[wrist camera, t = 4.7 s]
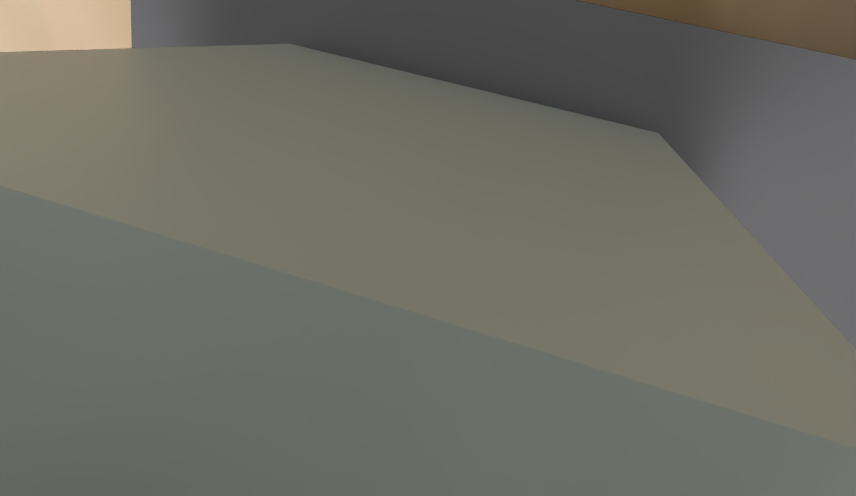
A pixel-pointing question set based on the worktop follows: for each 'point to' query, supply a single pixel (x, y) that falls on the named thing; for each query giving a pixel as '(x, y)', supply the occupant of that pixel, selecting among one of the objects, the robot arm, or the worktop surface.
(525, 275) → the pale green block
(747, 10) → the worktop surface
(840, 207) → the board
